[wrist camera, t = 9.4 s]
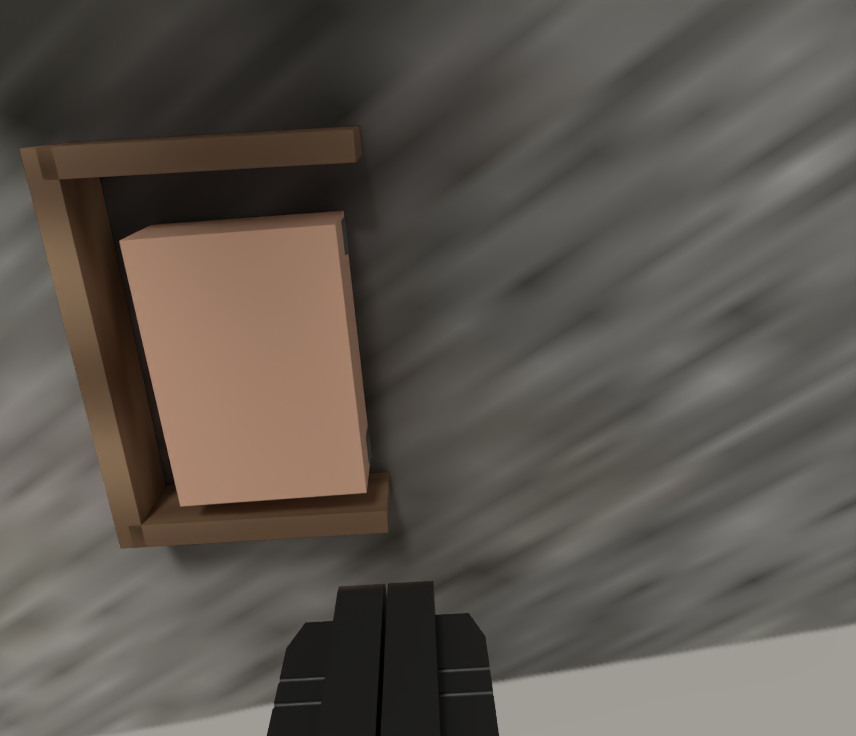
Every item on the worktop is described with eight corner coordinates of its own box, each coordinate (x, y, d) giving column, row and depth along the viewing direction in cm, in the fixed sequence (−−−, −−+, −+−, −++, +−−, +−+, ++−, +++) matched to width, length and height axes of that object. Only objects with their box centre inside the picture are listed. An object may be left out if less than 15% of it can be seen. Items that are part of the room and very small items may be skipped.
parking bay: (63, 143, 25) (19, 148, 22) (359, 125, 25) (353, 129, 22) (147, 506, 30) (120, 548, 27) (390, 492, 30) (388, 532, 27)
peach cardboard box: (153, 222, 26) (115, 240, 23) (347, 208, 26) (338, 224, 23) (203, 461, 29) (177, 506, 26) (374, 448, 29) (369, 492, 26)
